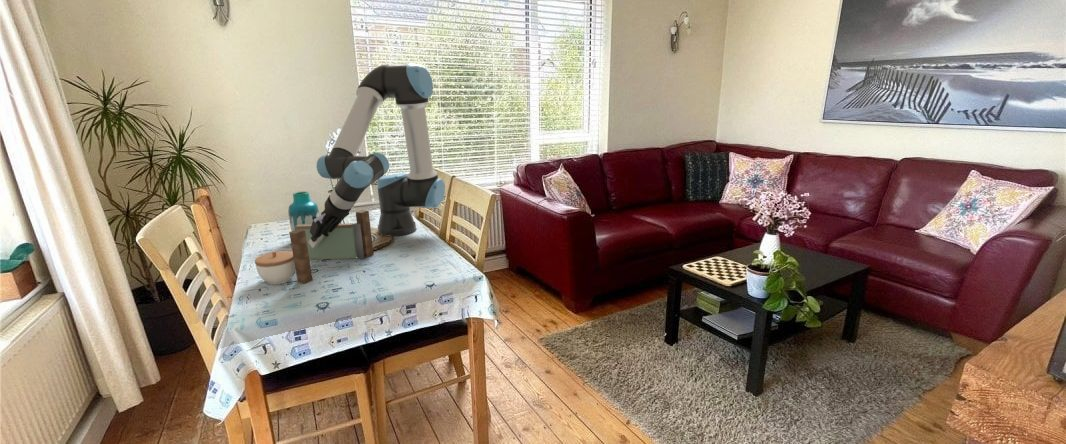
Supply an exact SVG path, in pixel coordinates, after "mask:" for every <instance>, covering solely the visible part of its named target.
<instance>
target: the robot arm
mask: <svg viewBox="0 0 1066 444" xmlns="http://www.w3.org/2000/svg"><path fill="white" fill-rule="evenodd" d="M366 74H367V75H365V77H363V79H362V80H361V82H359V85H358V87H357V89H356V90H355V91H356V92H355V95H356V98H355V101H353V105H352V106H351V109H350V111H349V113H348V115H347V117H346V119H345V121H344V124H343V126H342V127H341V130H339V131H340V132H339V134H338V136H337V138H336V140H335V142H334V145H333V146H332V149H331V151H330V152H329V154H326V155H322V156H320V157H318V159H317V161H316V171H317V173H318V174H319V176H320V177H321V178H324V179H329V180H338V182H336V184H335V186H334V188H333V189H332V191H331V192H330V194H329V196H328V197H326V198H327V199H326V200H325V202H324V210H323V211H322V212H321V213H320V216H319V217H316V216H314V217H313V218H312V219H313V222H312V225H311V229H310V233H311V235H312V237H311V239H310V240H309V242H308V243H309V244H310V245H311V247H312V248H316V247H317V246H318V244H319V243H320V241H321V240H322V239H323V237H324V236H326V237H327V236H329V235H328V232H332V231H333V230H334V229H335V228H336V227H337V226H338V225H339V224H341V223H342V221H343V220H344V219H346V217H348V216H349V215H350V211H351V210H352V208H353V207H354V206H355V204H356V203H357V201H358V199H359V198H360V196H361V195H362V194H363V192H364V191H366V189H367V188H368V187H370V186H371V185H372V184H373V183H375V182H376V181H377V188H376V189H377V193H378V202H379V210H380V216H379V221H378V224H377V232H378V234H379V235H381V234H382V235H381V236H386V235H391V236H390V237H392V236H393V237H394V236H395V237H396V236H404V235H408V234H412V233H413V232H415V231H416V230H417V224H416V221H415V220H414V217H413V214H412V212H411V208H422V209H423V208H424V209H436V208H439V206H440V205H441V204H442V202H443V200H444V197H445V194H446V193H445V192H446V185H445V184H446V183H445V181H444V180H443V178H441V177H439V175H438V174H439V173H438V172H437V170H435V169H434V165H433V160H432V159H433V158H432V152H431V144H430V137H429V136H430V135H429V127H428V121H427V114H426V105H428V103H429V98H430V97H432V95H433V92H434V91H433V89H434V85H433V84H434V83H433V79H432V75H431V73H430V72H429V70H428V68H427V67H425V66H424V65H423V64H418V63H401V64H381V65H379V66H376V67H375V68H374V69H373V70H370V71H369V73H366ZM388 99H395V104H396V106H397V107H399V108H400V109H401V110H400V111H401V116H402V122H403V131H404V137H405V144H406V151H407V152H406V153H407V157H408V165H409V173H408V174H407V173H406V172H405V173H404V172H403V173H401V172H400V173H399V172H398V173H394V174H389V175H388V174H387V175H385V174H386V173H388V171H389V169H390V163H389V159H388V158H387V157H386V156H385V155H384V154H383V153H381V152H372V153H370V154H368V155H366V156H363V155H362V156H361V155H359V156H358V155H357V154H358V151H359V150H360V148H361V145H362V144H363V141H364V138H365V136H366V134H367V132H368V131H369V128H370V125H371V123H372V121H373V119H374V117H375V114H376V112H377V110H378V108H379V107H381V106H382V105H383V103H384V101H385V100H388Z"/></svg>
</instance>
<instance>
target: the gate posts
mask: <svg viewBox="0 0 1066 444" xmlns="http://www.w3.org/2000/svg"><path fill="white" fill-rule="evenodd" d="M355 219H356V223H360V225H361V233H362V241H363V249H364V258H369V257H371V256H374V253H375V252H374V247H373V246H374V245H373V236H372V229H371V220H370V212H369V210H367V209H366V210H365V209H361V210H357V211H355ZM288 234H289V238H290V239H289V240H290V245H291V252H293V258H294V263H295V274H296V281H297V283H300V284H303V285H305V284H307V283H309V282H313V281H314V278H313V273H312V267H311V261H310V259H309V253H308V246H307V240H306V234H305V230H299V229H298V230H294V231H291V230H290V231H288Z"/></svg>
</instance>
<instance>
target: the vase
mask: <svg viewBox="0 0 1066 444" xmlns="http://www.w3.org/2000/svg"><path fill="white" fill-rule="evenodd" d="M292 197H293V198H292V199H293V202H292V203H290V204H289V205H288V221H289V227H290V232H291V231H294V230H296V229H295V226H296V225H307V224H312V222H313V219H312V218H313V217H314V216H316V217H319V216H321V213H320V210H319V207H318V204H317V203H316V201H313V200H312V199H311V197H310V193H309V191H303V190H302V191H295V192H293V193H292Z"/></svg>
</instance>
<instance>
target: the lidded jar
mask: <svg viewBox="0 0 1066 444" xmlns="http://www.w3.org/2000/svg"><path fill="white" fill-rule="evenodd" d="M254 264H255V268H256V270H257V271H256V272H257V273H258V275H259V277H260V278H261V280H263V281H264V282H266V283H267V284H268V285H272V286H273V285H281V284H285V283H287V282H289V281H290V280H291V278H292V277H293V276H294V274H295V273H296V269H295V263H294V258H293V252H292V251H290V250H289V251H288V250H279V251H276V250H273V251H272V252H269V253H264V254H262V255H259V256H257V257H255V259H254Z"/></svg>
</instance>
